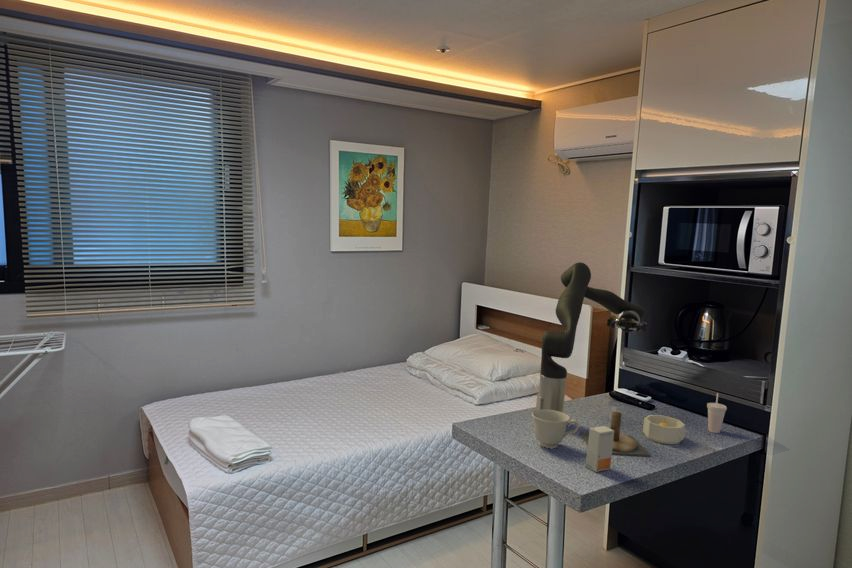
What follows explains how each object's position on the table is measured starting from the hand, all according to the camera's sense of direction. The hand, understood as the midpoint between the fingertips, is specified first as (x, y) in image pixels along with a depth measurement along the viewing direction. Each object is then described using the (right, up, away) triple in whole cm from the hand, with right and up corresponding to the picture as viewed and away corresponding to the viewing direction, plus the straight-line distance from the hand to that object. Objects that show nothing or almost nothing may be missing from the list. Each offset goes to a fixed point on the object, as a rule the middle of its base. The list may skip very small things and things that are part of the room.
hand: (625, 326), depth 206 cm
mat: (-12, -37, -23) cm, 46 cm away
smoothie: (+31, -38, -4) cm, 49 cm away
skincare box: (-23, -39, -42) cm, 62 cm away
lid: (-12, -36, -23) cm, 45 cm away
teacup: (-33, -36, -28) cm, 56 cm away
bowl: (+8, -37, -14) cm, 41 cm away
